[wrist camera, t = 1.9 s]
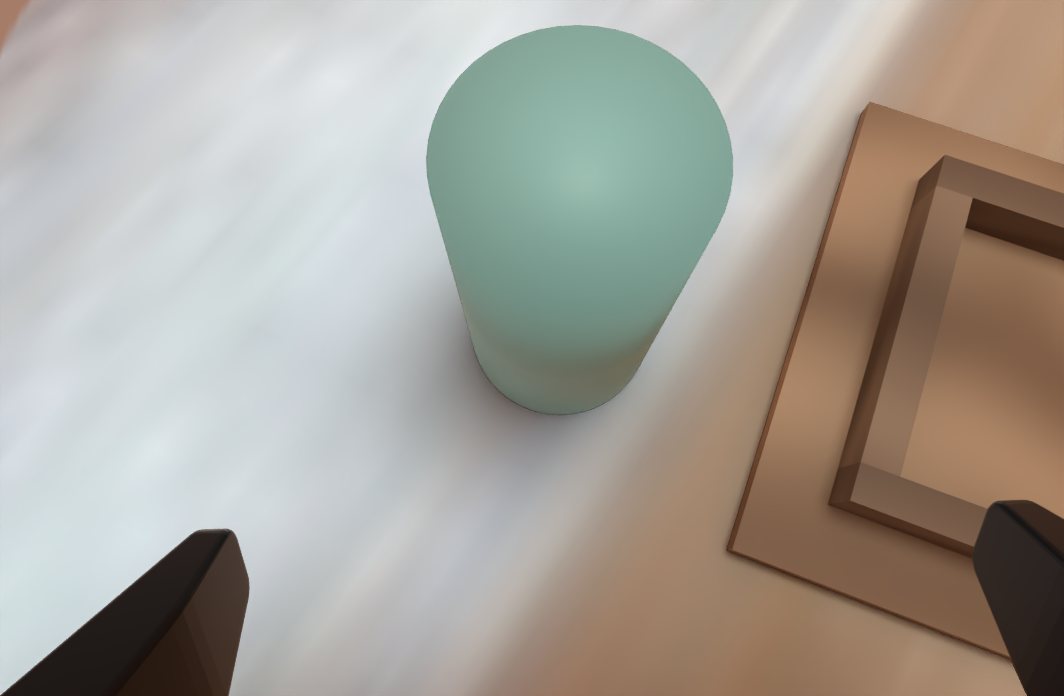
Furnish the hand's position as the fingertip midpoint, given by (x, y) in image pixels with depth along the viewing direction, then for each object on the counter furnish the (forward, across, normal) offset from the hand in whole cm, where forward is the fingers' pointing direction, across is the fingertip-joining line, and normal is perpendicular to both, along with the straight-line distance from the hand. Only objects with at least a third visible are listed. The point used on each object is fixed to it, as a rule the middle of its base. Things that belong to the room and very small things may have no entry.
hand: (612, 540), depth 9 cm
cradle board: (+11, -13, +6) cm, 18 cm away
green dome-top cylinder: (+13, 0, +4) cm, 13 cm away
